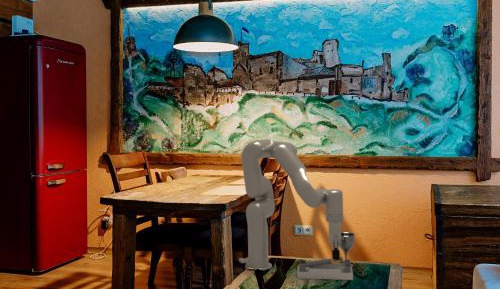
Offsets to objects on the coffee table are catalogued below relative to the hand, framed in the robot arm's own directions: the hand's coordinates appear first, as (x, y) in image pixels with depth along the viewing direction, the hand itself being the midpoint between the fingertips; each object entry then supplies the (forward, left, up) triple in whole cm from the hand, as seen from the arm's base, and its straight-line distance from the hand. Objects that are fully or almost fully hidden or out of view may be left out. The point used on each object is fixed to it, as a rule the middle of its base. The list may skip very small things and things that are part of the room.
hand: (336, 258), depth 243 cm
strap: (-6, 0, -2) cm, 6 cm away
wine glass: (+5, +18, -8) cm, 21 cm away
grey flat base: (-5, 0, -8) cm, 9 cm away
